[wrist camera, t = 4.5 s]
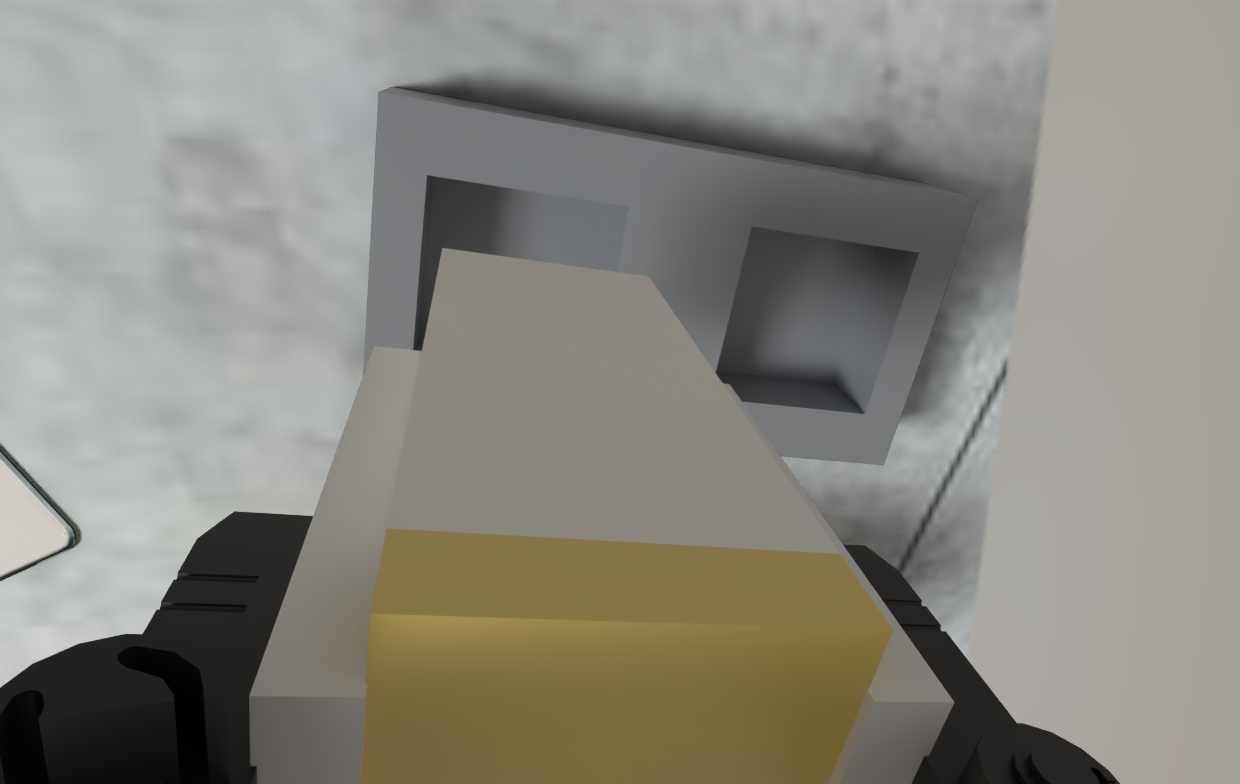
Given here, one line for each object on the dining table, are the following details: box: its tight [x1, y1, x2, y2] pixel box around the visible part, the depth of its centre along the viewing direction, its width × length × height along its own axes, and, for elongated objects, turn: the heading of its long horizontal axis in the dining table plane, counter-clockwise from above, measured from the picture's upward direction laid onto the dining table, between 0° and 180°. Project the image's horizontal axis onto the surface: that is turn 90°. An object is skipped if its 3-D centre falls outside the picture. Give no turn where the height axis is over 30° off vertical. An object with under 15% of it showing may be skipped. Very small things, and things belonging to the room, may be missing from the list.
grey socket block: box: [363, 87, 978, 465], centre depth 23 cm, size 9×17×3 cm, turn 80°
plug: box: [361, 248, 893, 784], centre depth 11 cm, size 4×4×10 cm
